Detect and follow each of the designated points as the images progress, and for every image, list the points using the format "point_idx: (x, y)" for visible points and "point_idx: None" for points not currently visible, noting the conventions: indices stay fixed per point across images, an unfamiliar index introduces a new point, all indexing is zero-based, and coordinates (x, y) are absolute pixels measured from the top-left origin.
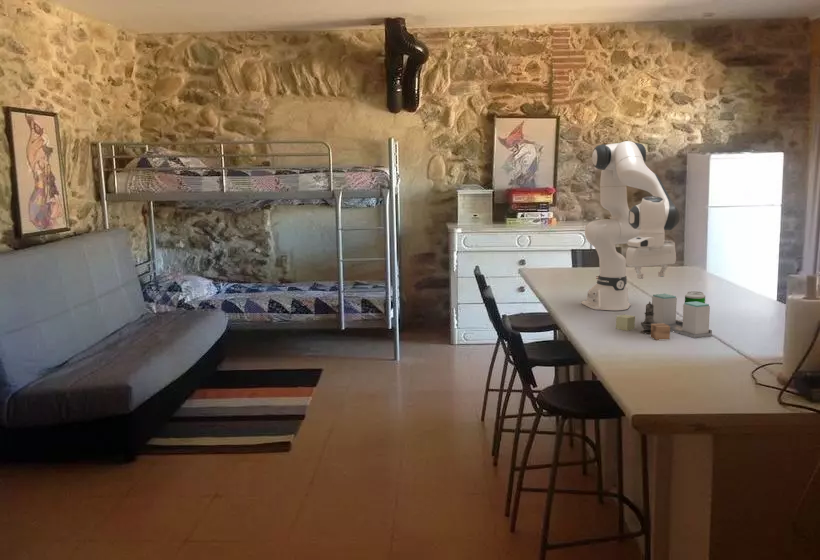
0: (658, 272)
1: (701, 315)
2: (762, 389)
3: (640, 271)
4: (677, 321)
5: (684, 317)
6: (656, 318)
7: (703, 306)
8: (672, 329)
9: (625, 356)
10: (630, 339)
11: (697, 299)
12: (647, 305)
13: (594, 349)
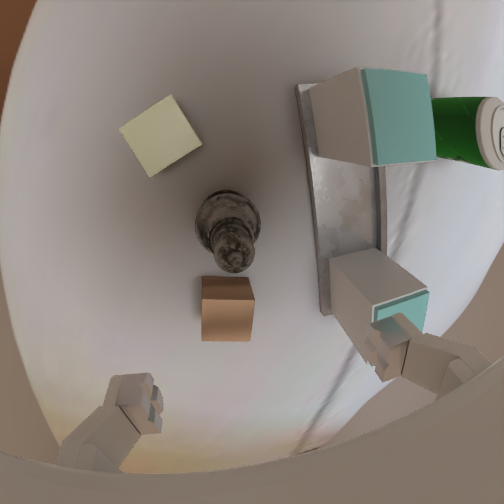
0: (385, 347)
1: None
2: None
3: (123, 458)
4: None
5: (348, 286)
6: (319, 116)
7: None
8: (315, 221)
9: (89, 405)
10: (127, 292)
11: (485, 165)
12: (217, 262)
13: (33, 352)
